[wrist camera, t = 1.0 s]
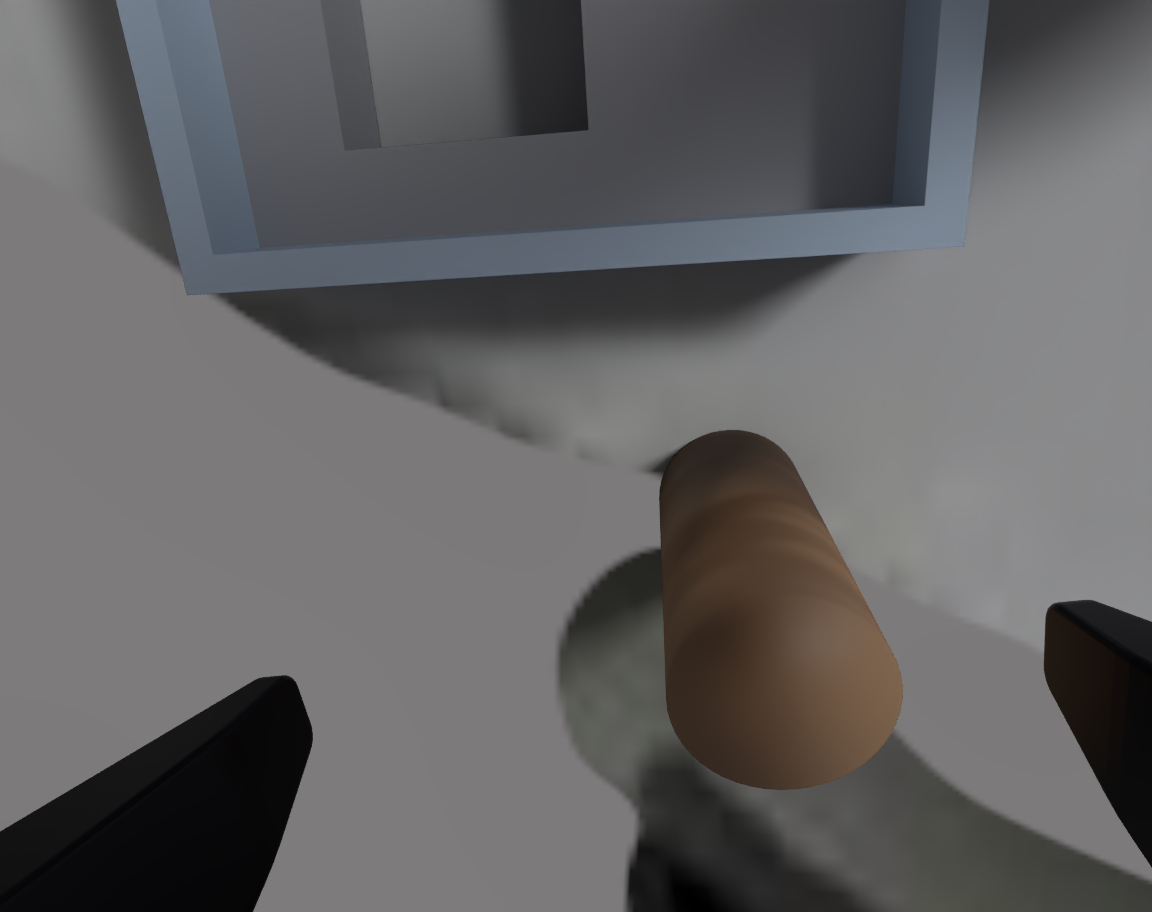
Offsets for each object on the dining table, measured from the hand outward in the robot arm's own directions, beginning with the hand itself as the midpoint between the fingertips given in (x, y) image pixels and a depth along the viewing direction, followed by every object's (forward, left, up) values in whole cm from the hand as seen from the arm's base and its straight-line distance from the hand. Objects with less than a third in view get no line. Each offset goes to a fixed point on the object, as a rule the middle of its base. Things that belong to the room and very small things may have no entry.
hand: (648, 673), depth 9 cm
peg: (-2, +3, -12) cm, 13 cm away
